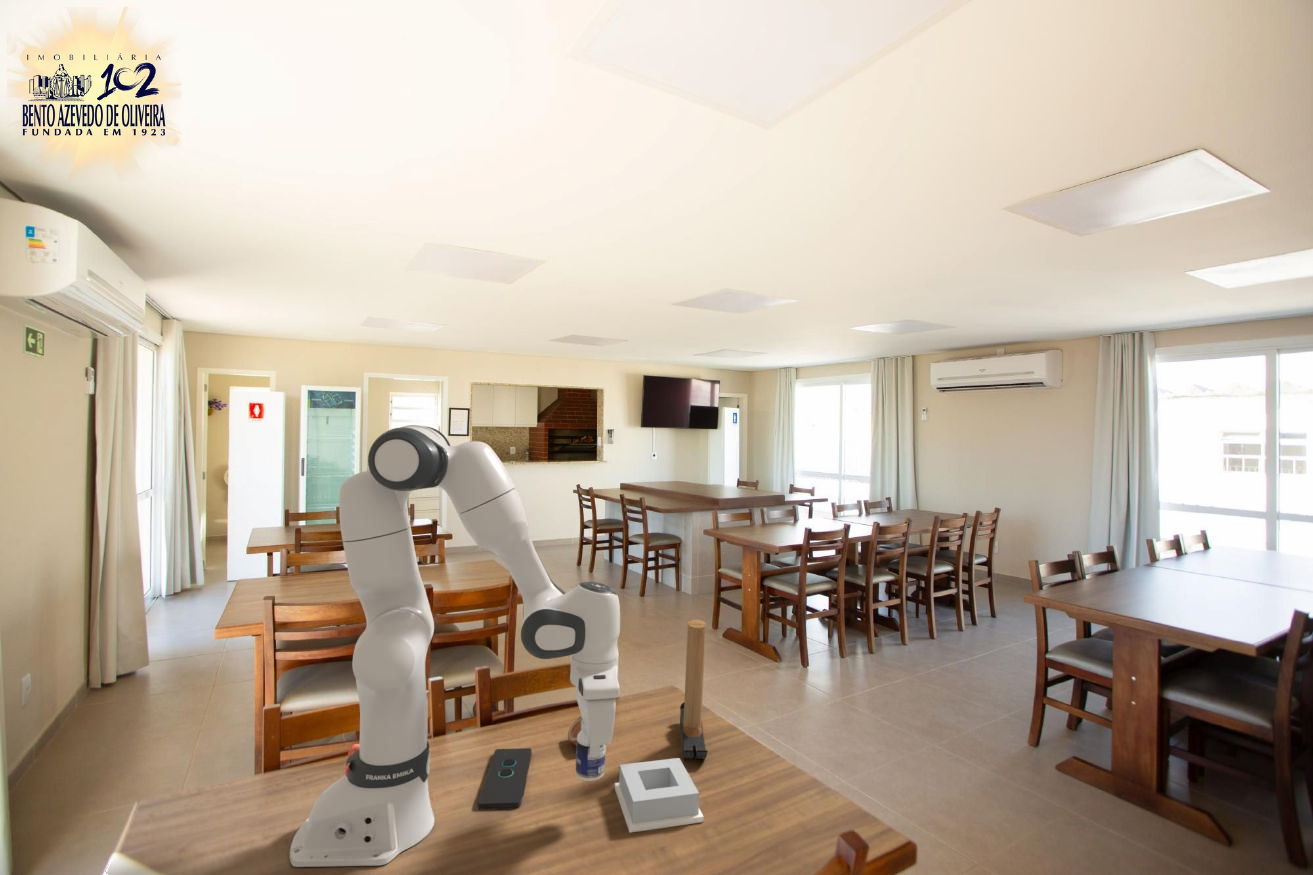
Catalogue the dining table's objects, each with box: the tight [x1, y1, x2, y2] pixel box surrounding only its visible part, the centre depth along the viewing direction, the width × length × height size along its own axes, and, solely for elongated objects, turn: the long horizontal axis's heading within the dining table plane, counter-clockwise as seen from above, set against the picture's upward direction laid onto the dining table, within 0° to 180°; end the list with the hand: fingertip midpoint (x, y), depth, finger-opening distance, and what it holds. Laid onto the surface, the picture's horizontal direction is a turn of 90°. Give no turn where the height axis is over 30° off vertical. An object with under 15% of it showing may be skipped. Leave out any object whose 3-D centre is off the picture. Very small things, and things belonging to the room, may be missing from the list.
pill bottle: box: [575, 720, 607, 782], centre depth 111 cm, size 5×5×10 cm
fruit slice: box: [567, 715, 583, 747], centre depth 137 cm, size 8×7×5 cm
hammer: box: [679, 619, 708, 760], centre depth 137 cm, size 20×5×30 cm, turn 1°
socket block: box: [614, 757, 705, 834], centre depth 116 cm, size 14×14×5 cm
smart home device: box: [477, 747, 533, 811], centre depth 123 cm, size 8×2×20 cm
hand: (591, 745), depth 111 cm, fingers closed on pill bottle, 5 cm apart
